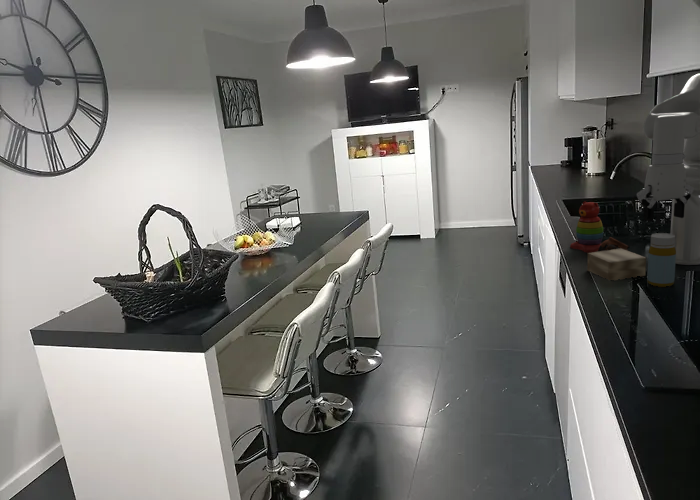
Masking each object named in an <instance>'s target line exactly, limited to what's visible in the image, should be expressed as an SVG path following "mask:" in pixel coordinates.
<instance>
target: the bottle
mask: <svg viewBox="0 0 700 500" xmlns="http://www.w3.org/2000/svg"><path fill="white" fill-rule="evenodd" d="M649 246H650V247H649V249H648V257H647V258H648V259H647V260H648V261H647V277H646V278H647V279H646V281H647V283H648V284H649V285H650V284H651V285H650V286H652V285H653V286H652V287H656V286H658V287H657V288H667V287H666V286H669V287H671V286H673V285H674V284H675V275H676V264H675V262H676V250H675V247H674V246H675V235H673V234H671V233H669V232H668V233H667V232H665V233H664V232H658V233H656V232H655V233H652V234H651V235H650V245H649Z"/></svg>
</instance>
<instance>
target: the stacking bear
mask: <svg viewBox="0 0 700 500" xmlns="http://www.w3.org/2000/svg"><path fill="white" fill-rule="evenodd" d="M578 213H579V216H580V217H579V219H578V221H577V224H576V225H577V226H576V228H575V229H576V230H575V234H576V239H577V241H575V242H572V243H571V244H570V245H569V246H570V247H569V248H570V249H573V250H579V251H582V252H583V253H587V254H588V253H593V252H598V249H599V247H600V245H601V243H602V242H603V237H604V225H603V223H602V220H601V217H599V216H598V215H599V213H600V207H599V204H598V202H594V201H589V202H587V201H582V204H581V206H580V207H579V209H578Z"/></svg>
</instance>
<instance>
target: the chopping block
mask: <svg viewBox="0 0 700 500" xmlns="http://www.w3.org/2000/svg"><path fill="white" fill-rule="evenodd" d="M646 266H647V256H643V255H640V254H638V253H635V252H632V251H629V250H628V251H627V250H624V249H622V248H617V249H613V250H606V251H599V252H598V251H597V252H592V253H587V269H586V270H587V271H588V272H590V273H592V274H595V276H598V275H599V277H600V278H603V279H605V278H606V279H605V280H607V279H608V280H607V281H609V280H614V281H619V280H618V279H620V280H625V278H627V279H632V278H631V277H633V278H638V277H637V276H640V277H646V272H647V271H646V270H647V269H646V268H647V267H646Z"/></svg>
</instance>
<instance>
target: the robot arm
mask: <svg viewBox="0 0 700 500" xmlns="http://www.w3.org/2000/svg"><path fill="white" fill-rule="evenodd" d="M642 129H643V134H644V136H645V137H646V139H649V140H650V141H651V140H652V155H651V156H652V157H651V164H650V165H648V168H647V171H646V174H645V175H646V176H645V181H644V188H642V189H641V190H640V191H638V192H637V193H636V198H637V199H638V203H639V204H640V205H641V206H642V207H643V221H646V222H651V223H652V222H654V218H655V217H654V215H655V209H654V205H655V204H656V202H662V201H670V200H671V202H672V203H671V220H670V221H671V222H670V234H673V235H675V246H674V247H675V250H676V262H675V265H685V266H696V265H697V266H698V265H700V73H697V74H695V75H692V76H691V77H690V78H689V79H688V80H687V81H686V83H685V85H684V86H683V87H682V90H681V91H680V92H679V94H677V95H674V96H672V97H669V98H667V99H665V100H663V101H661V102H659V103H658V104H656V105H654V106H653V107H652V109H651V110H650V112H649V113H648V115H647V116H646V117H645V120H644V123H643V127H642ZM685 140H686V142H685ZM683 162H684V163H683Z"/></svg>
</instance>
